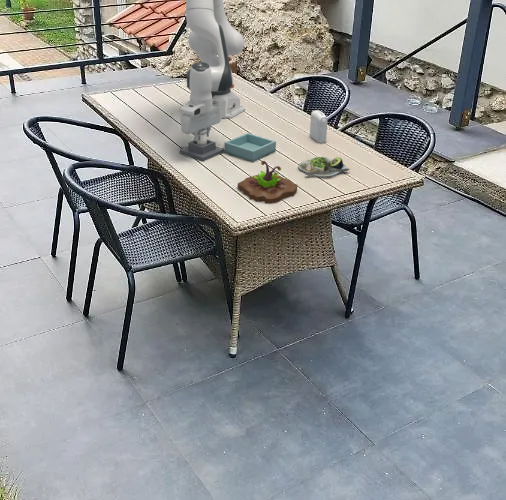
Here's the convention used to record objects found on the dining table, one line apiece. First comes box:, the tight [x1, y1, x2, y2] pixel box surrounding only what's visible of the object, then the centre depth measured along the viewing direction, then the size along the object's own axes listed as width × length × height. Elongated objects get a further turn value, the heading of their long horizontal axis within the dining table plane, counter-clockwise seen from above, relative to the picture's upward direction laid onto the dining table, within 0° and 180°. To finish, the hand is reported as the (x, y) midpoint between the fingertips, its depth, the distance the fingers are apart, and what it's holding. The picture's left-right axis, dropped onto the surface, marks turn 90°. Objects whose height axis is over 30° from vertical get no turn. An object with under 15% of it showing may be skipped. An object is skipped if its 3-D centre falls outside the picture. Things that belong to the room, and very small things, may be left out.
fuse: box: [197, 128, 208, 146], centre depth 266 cm, size 4×4×10 cm
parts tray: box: [224, 132, 277, 163], centre depth 269 cm, size 15×15×4 cm
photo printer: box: [309, 109, 328, 144], centre depth 282 cm, size 10×4×12 cm, turn 20°
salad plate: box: [297, 156, 350, 178], centre depth 255 cm, size 19×18×5 cm
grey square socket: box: [179, 138, 225, 162], centre depth 268 cm, size 13×13×4 cm
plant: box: [237, 160, 298, 205], centre depth 236 cm, size 20×20×11 cm
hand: (201, 138), depth 266 cm, fingers closed on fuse, 4 cm apart
